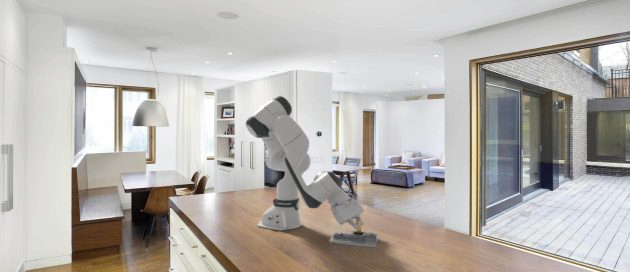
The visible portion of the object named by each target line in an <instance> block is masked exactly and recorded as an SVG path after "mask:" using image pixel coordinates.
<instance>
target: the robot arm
mask: <svg viewBox="0 0 630 272" xmlns="http://www.w3.org/2000/svg"><path fill="white" fill-rule="evenodd" d="M292 111H293V108H292V105H291V103H290V102H289V100H288V99H287V98H285V97H284V96H281V95H278V96H276V97H273V98H272V99H271V100H269V101H267V102H266V103H265V104H263V105H262V106H261V107H259V108H258V109H257V110H256V111H255V112H254V113H253V114H252V115H250V116H249V117H248V118H247V120H246V121H245V126H246V129H247V131H248V132H249V134H250V135H252V136H253V137H255V138H258V139H261V140H262V142H263V144H264V145H265V147H266V149H267V151H268V152H267V153H266V155H265V164H266V167H268V168H269V169H271V170H274V171H278V172H280V171H281V172H284V175H283V178H281V179H280V180H278V181H277V183H276V197H275V198H274V199H273V200H272V201H271V203H272V204H273V205H271V206H270V207H269V208H268V209H266V210H265V212H263V214H262V217H261V220H259V222H258V223H257V225H256V226H257V227H258V228H264V229H270V230H276V231H286V230H287V231H288V230H293V229H299V228H300V227H301V226H302V223H301V218H300V198H299V193H300V196H301V199H302V202H303V203H304V205H305V206H307V208H309V209H319V207H320V206H321V205H322V204H323V203H324V202H325V201H326V200H327V203H328V204H329V205H330V211H331V213H332V215H333V217H334V219H335V220H336V221H337V223H338V224H339V225H340V226H343V225H344V224H346V223H348V224H349V225H350V226H351V227H353V228H354V230H356V229H357V228H358V227H359V225H358V224H357V223H356V220H361V221H362V226H363V225H364V221H363V220H362V218H361V215H362V214H363V213H364V208H363V207H362V206H361V204H360V203H359V202H358V200H357V199H355V196H354V195H353V194H351V193H347V192H345V191H344V190H343V189H342V188H341V185H342V181H341V180H340V179H339V177H337V175H336V174H335V172H334V171H326V170H321V171H320V172H318V173H317V174H316V175H315V176H314V178H313V181H312V182H311V183H310V184H308V185H307V184H306V182H305V180H304V178H303V175H304V173H305V172H307V171H308V169H309V168H310V166H311V157H310V155H309V153H308V151H309V148H310V139H309V138H308V136H307V134H306V133H305V131H304V130H303V129H302V127H301V126H300V125H299V124H298V123H297V122H296V120H294V118H292V116H290V115H291V114H292ZM354 220H355V221H354Z"/></svg>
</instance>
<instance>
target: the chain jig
mask: <svg viewBox="0 0 630 272" xmlns="http://www.w3.org/2000/svg"><path fill="white" fill-rule="evenodd" d="M378 240H379V236H378V233H375V232H367V231H361V235H356V230H353V231H352V232H351V233H346V232H342V231H341V232H334V233H333V235H332V236H331V237H330V239H329V240H328V244H329V243H330V244H340V245H348V246H349V245H350V246H355V247H356V246H357V247H358V246H359V247H367V248H376V247H377V246H376V245H377V243H378Z"/></svg>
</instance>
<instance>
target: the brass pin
mask: <svg viewBox="0 0 630 272" xmlns="http://www.w3.org/2000/svg"><path fill="white" fill-rule="evenodd" d="M361 220H362V219H361ZM361 220H356V219H355V223H357V224H358V225H359V227H358V228H357V229H355V231H356V235H361V232H362V226H363V225H362V222H363V220H362V221H361Z"/></svg>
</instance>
